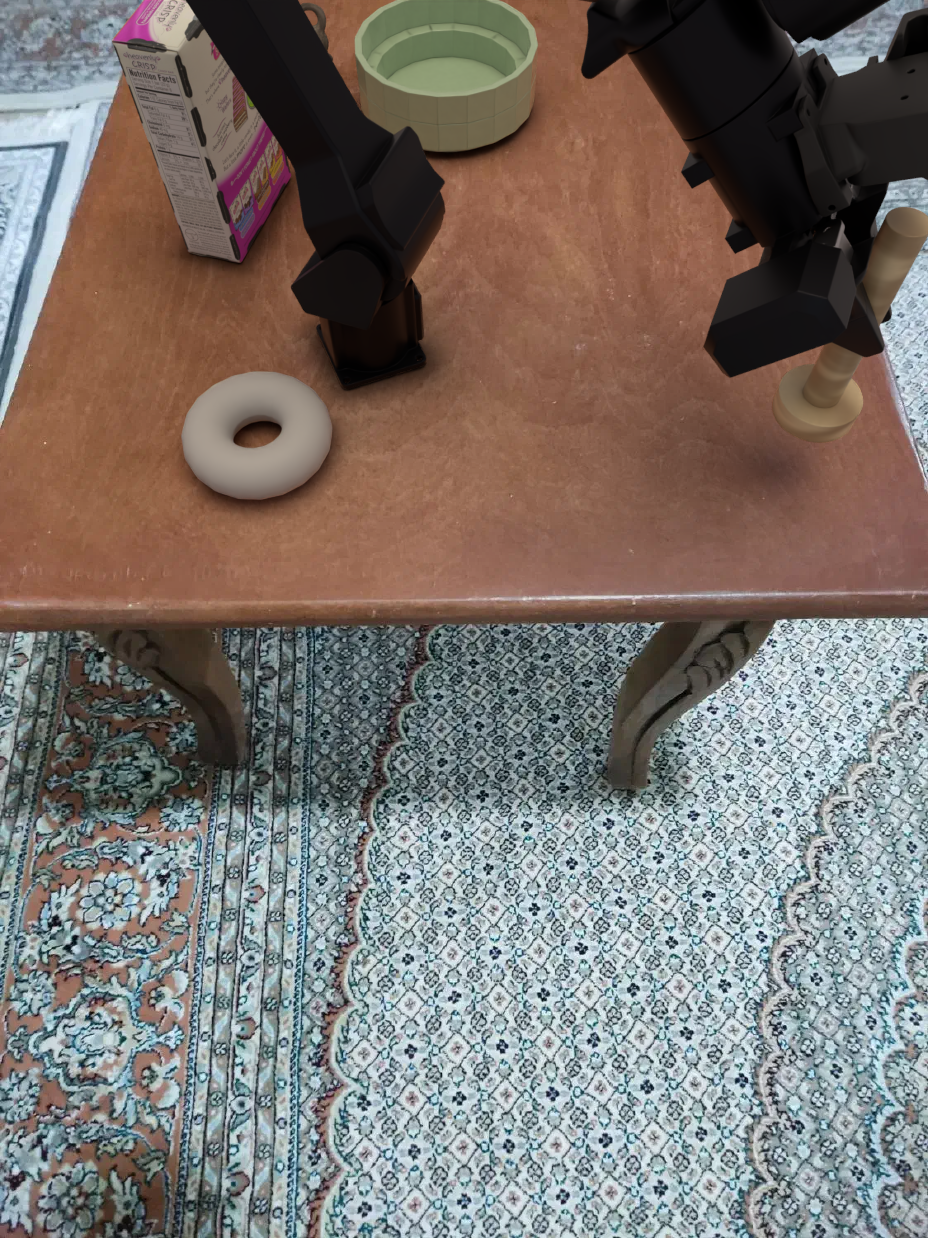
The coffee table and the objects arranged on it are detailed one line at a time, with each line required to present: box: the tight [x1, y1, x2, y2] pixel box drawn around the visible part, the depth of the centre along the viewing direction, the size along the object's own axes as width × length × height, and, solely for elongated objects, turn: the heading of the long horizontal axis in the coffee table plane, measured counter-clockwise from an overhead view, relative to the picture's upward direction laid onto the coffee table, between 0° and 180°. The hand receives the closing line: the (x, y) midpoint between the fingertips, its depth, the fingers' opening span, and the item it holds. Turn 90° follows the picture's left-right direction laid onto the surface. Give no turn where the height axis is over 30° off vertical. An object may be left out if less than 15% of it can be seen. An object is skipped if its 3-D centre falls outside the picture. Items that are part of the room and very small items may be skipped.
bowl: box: [354, 0, 539, 153], centre depth 76 cm, size 15×15×6 cm
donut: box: [180, 370, 333, 501], centre depth 59 cm, size 10×4×10 cm
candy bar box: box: [111, 0, 292, 264], centre depth 65 cm, size 11×5×16 cm, turn 164°
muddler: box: [771, 206, 928, 444], centre depth 48 cm, size 5×5×14 cm
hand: (879, 337), depth 48 cm, fingers closed on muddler, 2 cm apart
